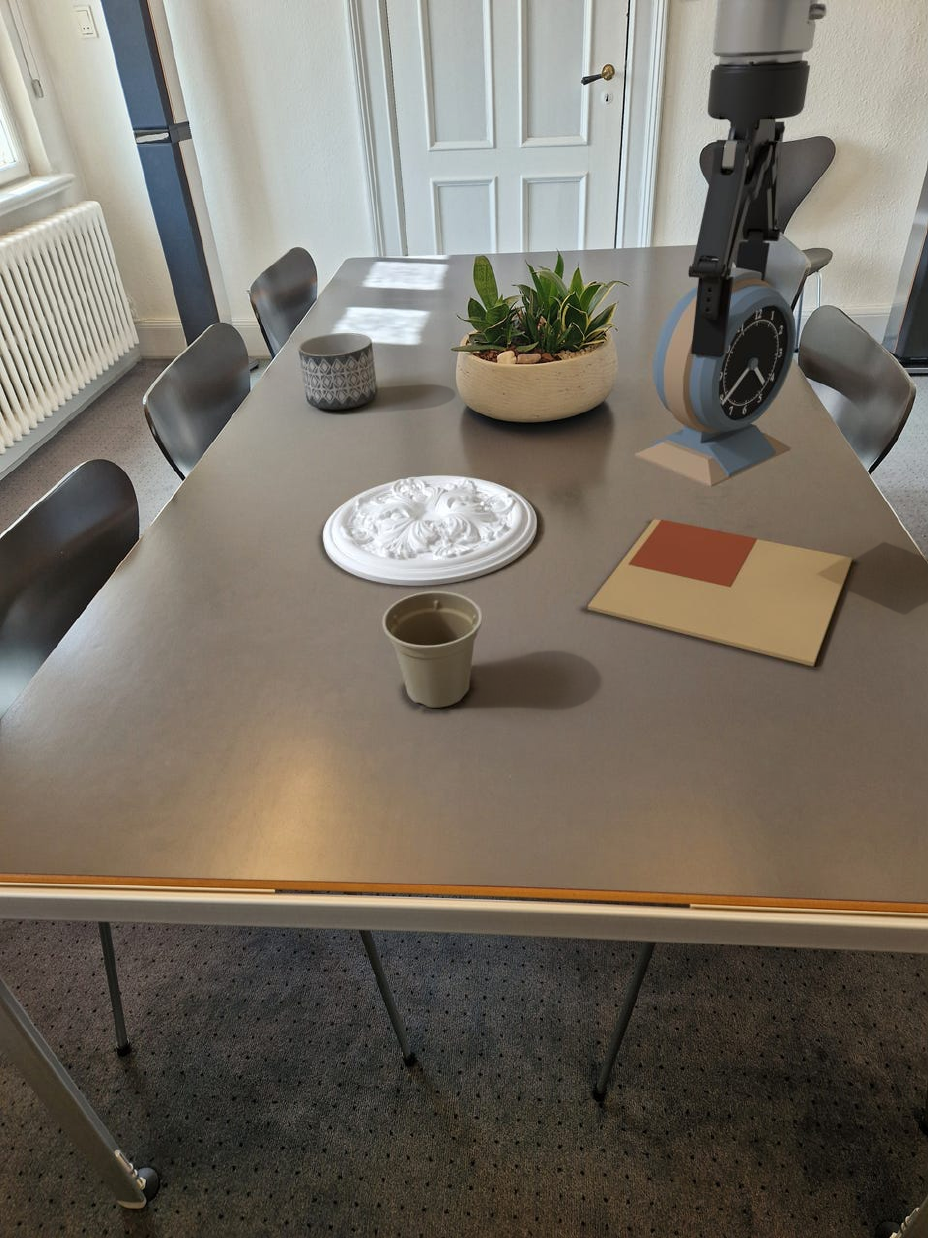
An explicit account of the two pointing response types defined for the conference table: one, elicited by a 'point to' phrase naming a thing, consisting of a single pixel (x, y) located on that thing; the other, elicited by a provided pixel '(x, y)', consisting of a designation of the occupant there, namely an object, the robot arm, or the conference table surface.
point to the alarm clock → (723, 383)
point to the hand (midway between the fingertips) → (727, 332)
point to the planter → (338, 370)
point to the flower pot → (434, 644)
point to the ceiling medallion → (430, 530)
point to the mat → (727, 589)
